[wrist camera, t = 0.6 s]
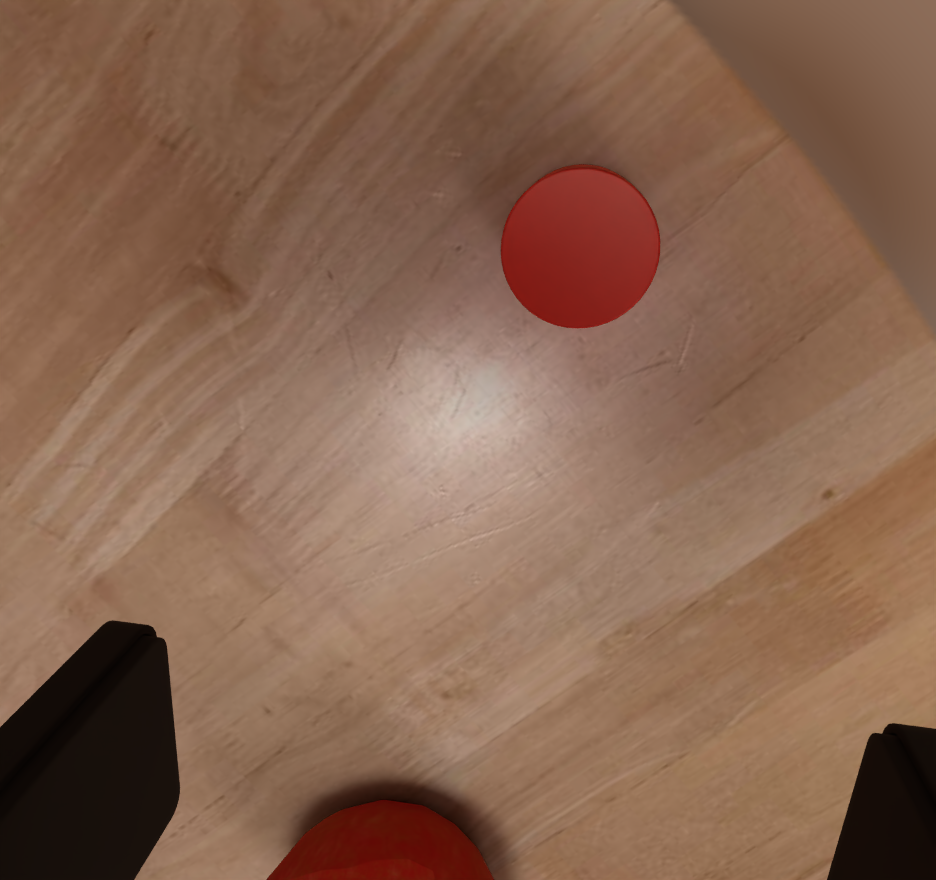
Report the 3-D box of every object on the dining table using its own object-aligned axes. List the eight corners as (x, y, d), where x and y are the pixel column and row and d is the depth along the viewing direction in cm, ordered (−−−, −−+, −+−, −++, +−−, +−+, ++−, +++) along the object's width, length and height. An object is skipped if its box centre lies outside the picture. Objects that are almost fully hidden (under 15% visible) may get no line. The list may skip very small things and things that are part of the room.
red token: (544, 141, 24) (538, 141, 21) (675, 197, 25) (689, 206, 21) (490, 274, 26) (477, 293, 23) (613, 326, 26) (617, 352, 23)
